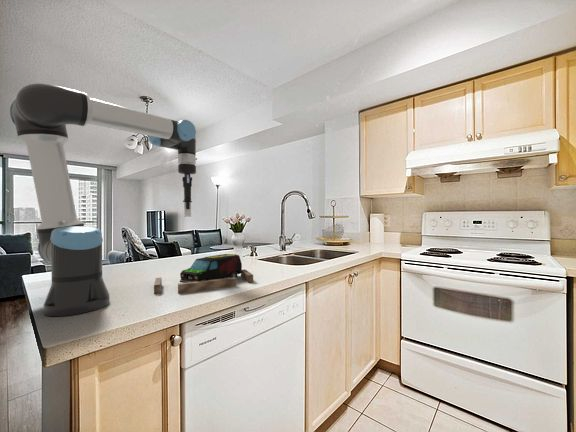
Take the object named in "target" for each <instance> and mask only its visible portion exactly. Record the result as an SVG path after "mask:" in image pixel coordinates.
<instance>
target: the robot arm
mask: <svg viewBox="0 0 576 432" xmlns="http://www.w3.org/2000/svg"><path fill="white" fill-rule="evenodd" d="M9 117H10V119H11V122H12V123H13V124H14V126H15V129H16V134H17V138H18V139H19V140H20V141H21V142H23V143H24V144H25V145H26V149H27V155H28V158H29V163H30V169H31V173H32V178H33V185H34V189H35V193H36V198H37V203H38V208H39V213H40V218H41V223H40V224H39V225H38V226H37V227H36V231H37V239H38V244H37V252H38V255H39V256H40V258H41V259H42V261H44V262H45V263H47V264H49V265H51V266H50V267H51V268H50V269H51V286H50V287H49V289H48V292H47V295H46V298H45V301H44V303H43V308H42V309H43V311H42V312H43V315H44V316H48V317H65V316H66V317H67V316H73V315H78V314H85V313H88V312H89V313H90V312H92V311H95V310H99V309H101V308H103V307H106V306H107V305H108V304H110V299H111V297H110V293H109V291H108V288H107V286H106V283H105V281H104V278H103V242H104V240H103V235H102V234H103V233H102V231H101V230H100V229H99V228H98V227H93V226H85V224H84V221H82V220H80V219H79V218H78V217H77V211H76V206H75V201H74V194H73V190H72V184H71V180H70V174H69V168H68V163H67V158H66V153H65V148H64V145H65V144H66V143H67V142H69V136H68V132H67V130H68V129H67V125H74V126H75V125H77V126H81V127H85V126H87V125H94V126H98V127H103V128H108V129H114V130H118V131H123V132H127V133H128V132H129V133H134V134H139V135H144V136H148V140H149V142H150V144H151V145H152V146H156V147H159V148H165V149H170V150H171V149H172V150H176V151H177V163H178V166H177V167H178V169H177V170H178V171H177V172H178V173H179V174H180V175H182V174H183V175H184V176H182V180H181V181H182V185H183V186H182V187H183V194H184V195H183V200H182V202H183V204H184V207H183V209H184V212H183V214H184V217H188V218H189V217H192V203H193V201H192V187H193V186H192V182H193V177H192V176H191V175H195V174H197V166H196V164H197V160H198V158H197V157H196V155H197V154H196V152H197V150H196V145H197V143H196V142H197V141H196V140H197V139H196V133H197V130H196V129H197V128H196V126H195V124H194V123H193V122H192V121H190V120H189V119H183V120H182V119H180V120H175V119H170V118H166V117H163V116H158V115H154V114H151V113H147V112H144V111H141V110H136V109H132V108H129V107H125V106H121V105H117V104H113V103H110V102H107V101H106V102H105V101H103V100H99V99H96V98H91V97H89V95H88V94H87V93H85V92H84V91H82V92H81V91H79V90H76V89H72V88H67V87H63V86H59V85H55V84H48V83H37V82H36V83H30V84H28V85H25V86H23V87H22V88H20V90H19V91H18V92H17V94H16V96H15V99H14V100H13V101H12V103H11V105H10V108H9Z"/></svg>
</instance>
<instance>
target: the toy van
mask: <svg viewBox="0 0 576 432" xmlns="http://www.w3.org/2000/svg"><path fill="white" fill-rule="evenodd" d="M242 267H243V264H242V260H241V257H240V255H239V254H233V253H224V254H223V253H222V254H216V255H210V256H205V257H200V258H196V259H195V260H194V262H193V263H192V265H191V266H190V267H189V268H186V269H184V270H182V271H181V272H180V273H179V276H180V279H179V283H186V282H195V281H205V280H214V279H224V278H233V277H235V278H236V279H237V278H238V275H239V274H240V275H241V270H243V269H242Z"/></svg>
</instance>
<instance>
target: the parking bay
mask: <svg viewBox="0 0 576 432" xmlns="http://www.w3.org/2000/svg"><path fill="white" fill-rule="evenodd" d="M240 277H241V278H242V279H243V280H245V282H247V283H248V284H251V283H253V284H254V274H253V273H251V272H250V271H249V270H247V269H242V270H241V273H240ZM162 282H163V281H162V277H161V276H160V277H155V279H154V284H153V294H154V295H157V294H161V292H162V285H163V283H162ZM234 287H236V288H237V278H235V277H233V278H230V277H227V278H224V279H214V280H205V281H195V282H186V283H182V282H179V283H177V294H184V293H185V294H186V293H194V292H202V291H210V290H216V289H217V290H219V289H227V288H234Z"/></svg>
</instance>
